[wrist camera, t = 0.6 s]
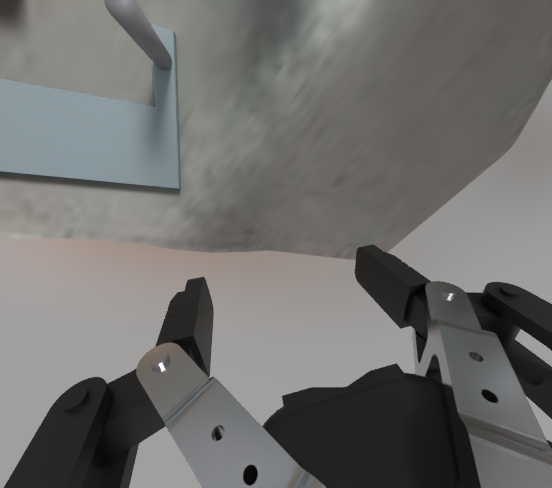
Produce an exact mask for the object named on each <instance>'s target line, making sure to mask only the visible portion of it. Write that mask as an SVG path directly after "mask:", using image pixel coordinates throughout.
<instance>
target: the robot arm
mask: <svg viewBox="0 0 552 488" xmlns="http://www.w3.org/2000/svg"><path fill="white" fill-rule="evenodd" d="M355 276H356V279H357V281H358V282H359V284H360V285H361V286H362V287H363V288H364V289H365V290H366V291H367V293H368V294H369V295H370V296H371V297H372V298H373V299H374V300H375V301H376V302H377V303H378V305H379V306H380V307H381V308H382V309H383V310H384V311H385V312H386V313H387V314H388V315H389V317H390V318H391V319H392V320H393V321H394V322H395V323H396V324H397V325H398V326H399V327H400V328H404V327H408V326H412V327H413V328H414V330H413V334H412V335H413V345H414V346H413V347H414V358H415V374H409V373H404V372H403V371H402V370H401V369H400V367H399V366H398V365H397V364H393V365H390V366H386V367H382V368H379V369H375V370H372V371H369V372H368V373H366V374H365V375H364V376H362V377H361V378H359V379H358V380H356V381H355V382H353V383H352V384H350V385H349V386H347V387H343V388H340V387H338V388H337V387H336V388H334V387H333V388H332V387H330V388H326V387H325V388H324V387H323V388H322V387H320V388H319V387H318V388H317V387H312V388H308V389H305V390H301V391H298V392H294V393H291V394H287V395H284V396H282V398H283V407H282V408H280V409H279V410H277V411H276V412H275V413H274V414H273V415H272V416H271V417H270V418H269V419H268V420H267V421H266V422H265V423H264V425H263V426H261V425H260V424H259V423H258V422H257V421H256V420H255V419H254V418H253V417H252V415H251V414H250V413H249V412H248V411H247V410H246V409H245V408H244V407H243V406H242V405H241V404H240V403H239V402H238V401H237V400H236V399H235V398H234V397H233V396H232V394H231V393H230V392H229V391H228V390H227V389H226V388H225V387H224V386H223V385H222V384H221V383H220V382H219V381H218V380H217V379H216V378H214V377H212V378H209V377H210V362H211V346H212V330H213V304H212V300H211V296H210V293H209V290H208V286H207V283H206V280H205V278H204V277H201V278H195V279H190V280H188V281H187V284H186V288H185V291H183V292H178V293H177V294H176V295H175V296H174V297H173V299H172V300H171V301H170V304H169V307H168V311H167V313H166V316H165V319H164V322H163V325H162V328H161V331H160V334H159V338H158V341H157V344H156V347H155V348H153V349H151V350H150V351H149V352H147V353H146V354H145V355H144V357H143V358H142V359H141V360H140V362H139V364H138V366H137V369H135V370H134V371H132V372H130V373H128V374H126V375H124V376H122V377H120V378H118V379H116V380H114V381H112V382H110V383H108V384H107V383H106V381H105V380H104V379H102V378H100V377H93V378H88V379H86V380H83V381H81V382H79V383H77V384H75V385H74V386H72V387H71V388H70V389H68V390H67V391H66V392H65V393H63V394H62V395H61V396H60V397H59V398H58V399H57V400H56V402H55V403H54V404H53V405H52V407H51V408H50V410H49V412H48V413H47V415H46V417H45V419H44V420H43V422H42V424H41V426H40V427H39V429H38V430H37V432H36V434H35V435H34V438H33V439H32V441H31V442H30V444H29V446H28V447H27V449H26V451H25V452H24V454H23V456H22V458H21V459H20V461H19V463H18V464H17V466H16V468H15V470H14V471H13V473H12V475H11V476H10V478H9V480H8V481H7V483H6V485H5V487H4V488H129V484H130V480H131V476H132V471H133V466H134V463H135V458H136V454H137V450H138V445H139V443H140V442H141V441H143V440H145V439H146V438H148V437H149V436H151V435H153V434H154V433H155V432H157V431H159V430H160V429H162V428H164V427H165V426H166V427H167V429H168V430H169V432H170V433H171V435H172V437H173V439H174V440H175V442H176V444H177V446H178V447H179V449H180V451H181V452H182V454H183V456H184V457H185V459H186V461H187V462H188V464H189V466H190V467H191V469H192V471H193V472H194V474H195V476H196V478H197V479H198V481H199V482H200V484H201V486H202V488H552V442H550V441H548V440H546V438H545V436H544V434H543V432H542V430H541V427H540V425H539V423H538V421H537V419H536V417H535V415H534V413H533V411H532V409H531V406H530V404H529V402H528V400H527V398H526V396H527V397H528V398H529V399H530V400H531V401H533V402H534V403H535V404H536V405H537V406H538V407H539V408H540V409H541V410H542V411H544V412H545V413H546V414H547V415H548V416H549V417H550V418H551V419H552V367H551V366H550V365H548V364H547V363H545V362H544V361H543V360H542V359H540V358H539V357H538V356H536V355H535V354H534V353H532V352H531V351H529V350H528V349H527V348H525V347H524V346H523V345H521V344H520V343H519V342H517V341H516V340H515V338H516V336H517V334H518V333H519V331H520V329H522V330H524V331H525V332H527V333H528V334H529V335H531V336H532V337H534V338H535V339H537V340H539V341H540V342H541V343H543V344H544V345H545V346H547V347H548V348H550V349H551V350H552V304H550V303H548V302H547V301H545V300H543V299H541V298H539V297H537V296H536V295H534V294H532V293H530V292H528V291H526V290H524V289H522V288H520V287H518V286H515V285H511V284H508V283H501V282H491V283H488V284H487V285H486V287H485V289H484V291H483V293H466V292H464V291H463V290H462V289H461V288H459V287H457V286H455V285H453V284H449V283H446V282H439V281H436V282H431V281H430V280H428V279H427V278H425V277H424V276H422V275H421V274H420V273H418V272H417V271H415V270H414V269H413V268H411V267H409V266H408V265H407V264H405V263H404V262H402V261H401V260H400V259H398V258H397V257H395V256H394V255H391V254H388V253H386V252H383V251H382V250H380V249H379V248H378V247H376V246H375V245H368V246H363V247H359V248H358V249H357V254H356V266H355ZM525 395H526V396H525Z"/></svg>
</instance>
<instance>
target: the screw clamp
mask: <svg viewBox="0 0 552 488" xmlns="http://www.w3.org/2000/svg"><path fill="white" fill-rule="evenodd" d="M104 1H105V5H106V7H107V9H108V11H109V13H110V14H111V15H112V16H113V17H114V19H115V20H116V21H117V22H118V23H119V24H120V25H121V26H122V27H123V29H124V30H125V31H126V32H127V33H128V34H129V35H130V36H131V37H132V39H133V40H134V41H135V42H136V43H137V44H138V45H139V46H140V47H141V49H142V50H143V51H144V52H145V53H146V54H147V55H148V56H149V57H150V59H151V60H152V73H153V88H154V103H155V107H154V106H149V105H143V104H138V103H132V102H127V101H121V100H115V99H110V98H104V97H99V96H93V95H87V94H82V93H76V92H71V91H65V90H60V89H54V88H48V87H43V86H37V85H32V84H26V83H21V82H15V81H9V80H4V79H0V171H3V172H13V173H24V174H34V175H44V176H55V177H65V178H75V179H85V180H96V181H106V182H116V183H127V184H137V185H147V186H158V187H168V188H178V189H179V188H180V187H181V180H180V148H179V116H178V85H177V53H176V35H175V32H174V30H171V29H168V28H164V27H160V26H156V25H152V24H150V22H149V21H148V19H147V18H146V16H145V15H144V13H143V11H142V10H141V8H140V7H139V5H138V4H137V2H136V0H104Z"/></svg>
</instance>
